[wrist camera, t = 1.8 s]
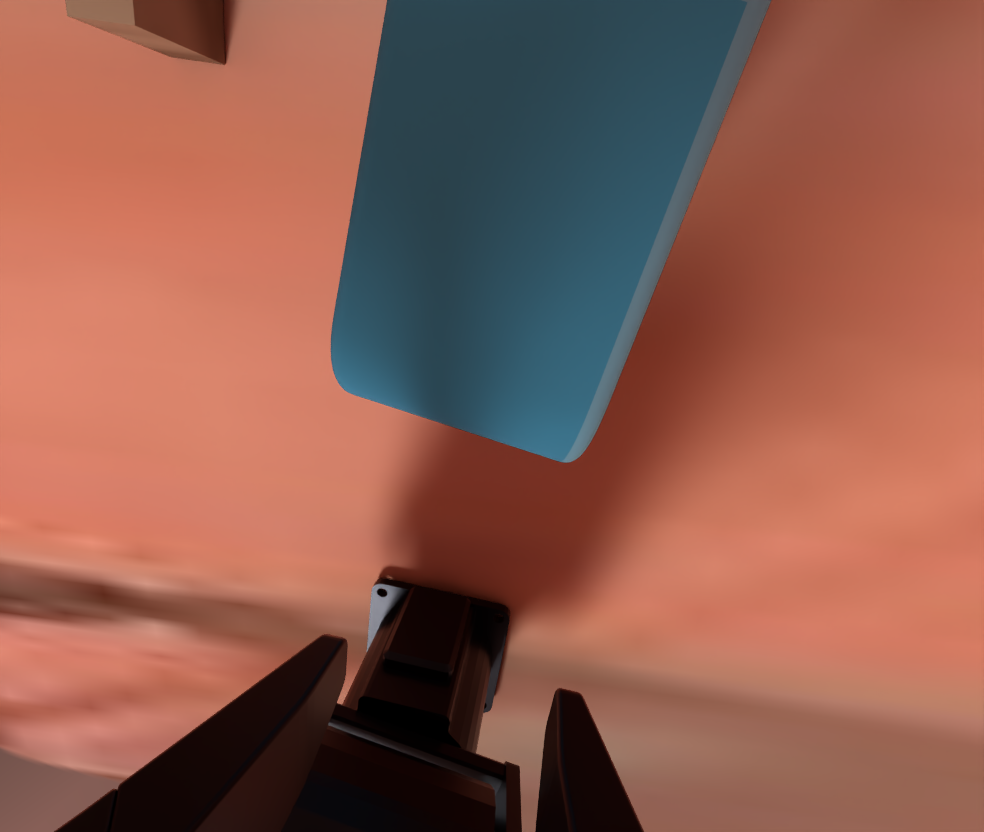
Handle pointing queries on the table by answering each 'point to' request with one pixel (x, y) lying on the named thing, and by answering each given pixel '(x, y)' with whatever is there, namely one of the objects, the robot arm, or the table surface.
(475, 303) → the data package
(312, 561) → the table surface
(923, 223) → the table surface
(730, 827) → the table surface
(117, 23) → the brown angled bar
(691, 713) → the table surface
